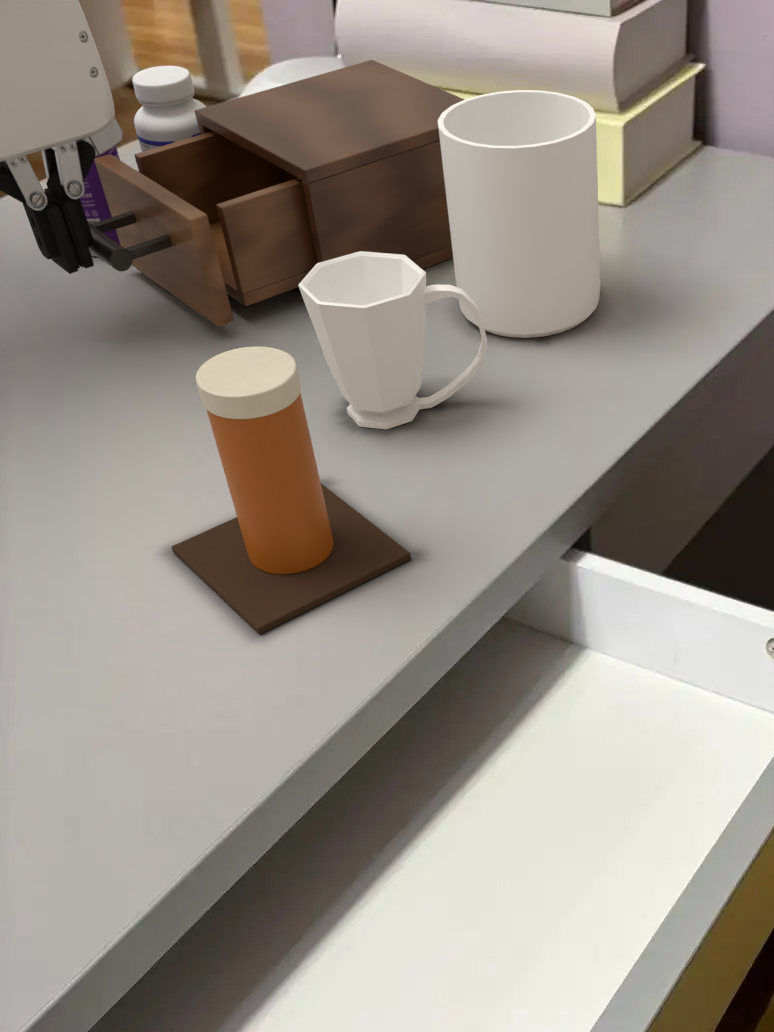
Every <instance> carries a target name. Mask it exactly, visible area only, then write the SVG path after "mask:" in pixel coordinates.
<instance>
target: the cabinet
mask: <svg viewBox="0 0 774 1032" xmlns="http://www.w3.org/2000/svg"><path fill="white" fill-rule="evenodd" d="M463 100H465V98H463V97H460V96H458V95H456V94H453V93H451V92H449V91H446V90H444V89H441V88H439V87H437V86H434V85H432V84H431V83H427V82H426V81H423V80H421V79H418V78H416V77H414V76H411V75H409V74H406V73H405V72H401V71H400V70H397V69H395V68H393V67H390V66H388V65H386V64H384V63H381V62H379V61H376V60H373V59H370V60H366V61H362V62H358V63H355V64H352V65H349V66H345V67H342V68H338V69H334V70H331V71H327V72H324V73H321V74H317V75H313V76H310V77H307V78H303V79H299V80H296V81H293V82H289V83H285V84H282V85H278V86H276V87H271V88H268V89H265V90H261V91H258V92H254V93H251V94H250V93H249V94H248V95H244V96H241V97H237V98H233V99H229V100H227V101H223V102H219V103H216V104H212V105H209V106H206V107H205V108H202V109H198V110H195V116H196V120H197V122H198V128H199V132H200V135H201V134H205V133H208V132H212V131H214V132H216V133H217V134H219V135H221V136H223V137H225V138H226V139H228V140H230V141H232V142H234V143H236V144H237V145H239V146H241V147H243V148H245V149H246V150H248V151H250V152H252V153H254V154H256V155H257V156H259V157H261V158H263V159H265V160H266V161H268V162H270V163H272V164H274V165H276V166H277V167H279V168H281V169H283V170H285V171H286V172H288V173H290V174H292V175H294V176H296V177H297V178H299V179H301V180H302V184H303V189H304V194H305V200H306V205H307V210H308V215H309V220H310V225H311V230H312V236H313V241H314V246H315V251H316V256H317V261H318V263H320V262H323V261H327V260H330V259H334V258H338V257H341V256H345V255H349V254H352V253H356V252H359V251H364V252H376V253H389V254H401V255H406V256H407V257H408V258H409V259H410V260H412V261H413V262H414V263H415V264H416V265H418V266H419V267H420V268H421V269H422V270H424V269H426V268H429V267H431V266H435V265H437V264H440V263H442V262H445V261H447V260H450V259H453V251H452V242H451V234H450V225H449V216H448V207H447V198H446V190H445V181H444V172H443V163H442V154H441V146H440V137H439V128H438V119H439V117H440V115H441V114H442V112H444V111H445V110H446V109H448V108H449V107H450V106H452V105H454V104H456V103H459V102H461V101H463Z"/></svg>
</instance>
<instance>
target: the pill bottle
mask: <svg viewBox="0 0 774 1032" xmlns="http://www.w3.org/2000/svg"><path fill="white" fill-rule="evenodd" d="M131 81H132V86H133V89H134V94H135V98H136V99H137V101H138V103H139V104H141V105H142V106H141V107H140V108H139V109H138V110H137V111H136V113H135V115H134V118H133V124H134V129H135V131H136V136H137V140H138V143H139V147H140V151H141V152H144V151H147V150H151V149H154V148H158V147H161V146H164V145H168V144H171V143H174V142H178V141H181V140H185V139H188V138H191V137H195V136H198V135H200V132H199V128H198V122H197V120H196V116H195V110H198V109H202V108H205V107H207V106H206V105H205V104H204V103H203V102H202V101H200V100H198V99H196V98H193V97H194V96H195V87H194V82H193V80H192V77H191V73H190V70H188V69H187V68H185V67H183V66H178V65H159V66H151V67H148V68H144V69H143V70H140V71H138V72H136V73H135V74H133V76H132V79H131Z"/></svg>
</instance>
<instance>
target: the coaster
mask: <svg viewBox="0 0 774 1032" xmlns="http://www.w3.org/2000/svg"><path fill="white" fill-rule="evenodd" d="M321 487H322V491H323V496H324V500H325V505H326V509H327V514H328V518H329V523H330V527H331V532H332V536H333V541H334V545H333V549H332V552H331V553H330V555H329V556H328V557H327V558H326V559H325V560H324V561H323V562H322V563H320V564H319V565H317V566H315V567H314V568H311V569H309V570H306V571H303V572H299V573H294V574H272V573H268V572H264V571H262V570H260V569H258V568H257V567H255V566H254V565H253V564H252V563H251V561H250V559H249V557H248V553H247V550H246V546H245V543H244V539H243V536H242V532H241V529H240V525H239V522H238V518H237V516H236V517H234V518H232V519H229V520H227V521H225V522H223V523H220V524H218V525H216V526H213V527H212V528H209V529H206V530H205V531H202V532H201V533H199V534H196V535H193V536H191V537H189V538H187V539H185V540H183V541H181V542H178V543H176V544H174V545H172V546H171V547H170V548H171V551H172V553H173V554H174V555H175V556H176V557H177V558H178V559H179V560H180V561H182V563H184V565H186V566H187V568H189V569H190V570H191V571H192V572H193V573H194V574H195V576H197V577H198V578H199V579H200V580H201V581H203V582H204V584H205V585H207V586H208V587H209V588H210V589H211V590H212V591H213V592H214V593H215V594H216V595H217V596H218V597H220V599H221V600H222V601H223V602H225V604H227V605H228V606H229V608H231V609H232V610H233V611H234V612H235V613H236V614H237V615H238V616H239V617H241V618H242V620H244V622H246V623H247V624H248V625H249V626H250V627H251V628H252V629H253V630H254V631H255V632H256V633H257V634H258V635H261V634H263V633H265V632H267V631H269V630H271V629H273V628H275V627H277V626H279V625H282V624H283V623H285V622H288V621H289V620H291V619H293V618H295V617H297V616H299V615H301V614H303V613H305V612H307V611H309V610H311V609H313V608H315V607H318V606H320V605H321V604H323V603H326V602H327V601H330V600H331V599H334V598H335V597H337V596H339V595H341V594H344V593H346V592H348V591H350V590H352V589H354V588H355V587H357V586H360V585H362V584H364V583H366V582H368V581H369V580H372V579H374V578H376V577H377V576H380V575H382V574H384V573H386V572H388V571H390V570H392V569H394V568H396V567H398V566H400V565H402V564H403V563H406V562H408V561H409V560H411V559H412V556H411V555H412V554H411V552H410V551H408V549H406V548H404V547H403V546H402V545H401V544H399V543H398V542H397V541H396V540H395V539H394V538H392V537H391V536H390V535H388V534H387V533H386V532H384V531H383V530H382V529H380V528H379V527H378V526H376V525H375V523H372V521H370V520H369V519H367V517H365V516H364V515H363V514H361V513H360V512H359V511H358V510H356V509H355V508H354V507H352V506H351V505H350V504H349V503H347V502H346V501H344V500H343V499H342V498H341V497H340V496H338V495H337V494H336V493H334V492H333V491H332V490H331V489H329V488H328V487H327V486H325V485H324V484H323V483H321Z"/></svg>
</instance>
